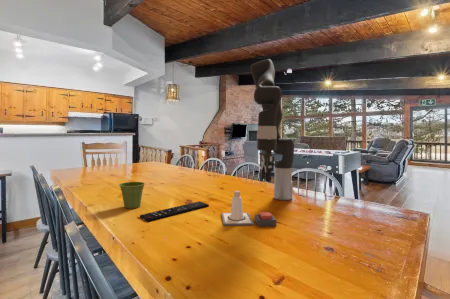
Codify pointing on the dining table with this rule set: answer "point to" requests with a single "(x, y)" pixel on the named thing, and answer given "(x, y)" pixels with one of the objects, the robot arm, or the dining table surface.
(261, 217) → the button
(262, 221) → the button housing
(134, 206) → the plant pot
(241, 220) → the board
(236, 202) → the salt shaker
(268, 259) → the dining table surface
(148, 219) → the remote control
